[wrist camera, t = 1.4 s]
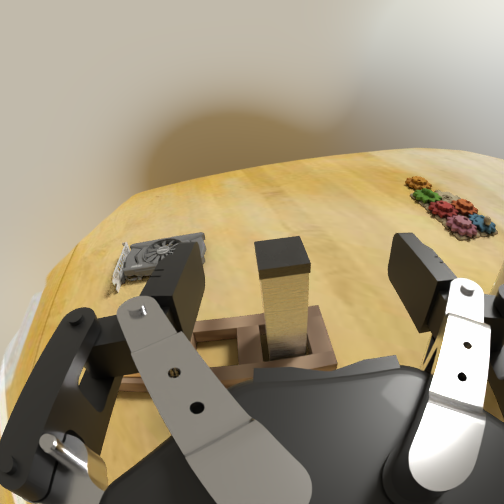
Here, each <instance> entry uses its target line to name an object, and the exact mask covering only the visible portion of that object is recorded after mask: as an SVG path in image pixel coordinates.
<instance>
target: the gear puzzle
mask: <svg viewBox="0 0 504 504" xmlns="http://www.w3.org/2000/svg"><path fill="white" fill-rule="evenodd" d="M405 183H406V184H408V185H409V187H411V188H415V189H416V190H415V192H414V193H413V194H410V196H411V197H412V198H413V199H416V200H420V201H421V202H420V201H419V204H420V205H421V206H423V207H425V209H426V210H427V211H428V212H429V213H431V212H432V214H436V215H437V216H435V218H436V219H437V220H438V221H439V222H442V224H443V226H445V227H446V228H447V229H449V228H451V231H454V232H455V233H453V235H454V236H455V237H456V238H457V239H458V240H461V241H463V240H467V239H468V237H466V236H469V237H473V238H479V237H480V236H481V237H485V236H487V235H488V234H487V233H489V234H490V233H492V235H495V234H498V231H497V230H496V229H495V226H496V225H495V224H494V223H493V222H491V219H490V217H488V216H487V217H484V216H483V215H478V209H476V208H475V207H474V205H473V204H472V203H471V202H470V201H467V200H464V199H461V198H459V197H458V196H454V195H452V194H451V193H450V192H441V191H440V190H435V192H433V191H431V187H432V185H431V184H430V183H428V181H427V180H425V179H424V178H422V177H418V176H415V177H412V178H407V180H406V181H405ZM486 232H487V233H486Z"/></svg>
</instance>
